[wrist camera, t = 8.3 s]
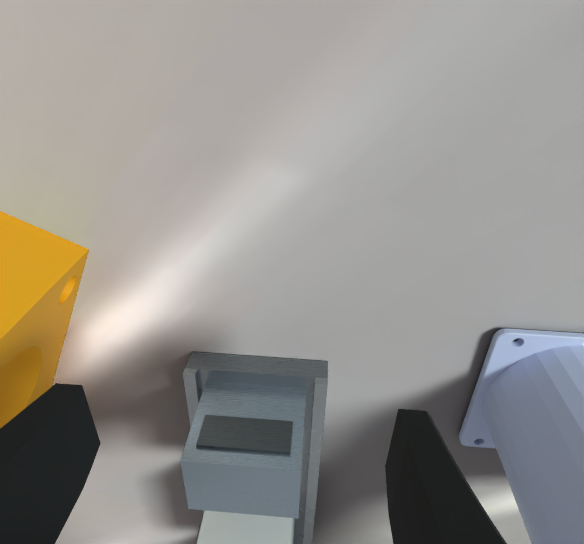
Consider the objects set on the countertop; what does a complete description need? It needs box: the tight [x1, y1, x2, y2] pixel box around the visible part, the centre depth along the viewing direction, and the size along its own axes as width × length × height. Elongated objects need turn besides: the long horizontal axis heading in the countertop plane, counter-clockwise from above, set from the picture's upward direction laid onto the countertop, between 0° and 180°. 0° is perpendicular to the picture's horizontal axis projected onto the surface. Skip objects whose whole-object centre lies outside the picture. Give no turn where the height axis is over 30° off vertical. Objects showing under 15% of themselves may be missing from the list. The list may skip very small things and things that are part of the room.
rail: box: [180, 352, 328, 544], centre depth 25 cm, size 7×20×6 cm, turn 178°
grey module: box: [195, 510, 295, 544], centre depth 24 cm, size 5×6×5 cm
